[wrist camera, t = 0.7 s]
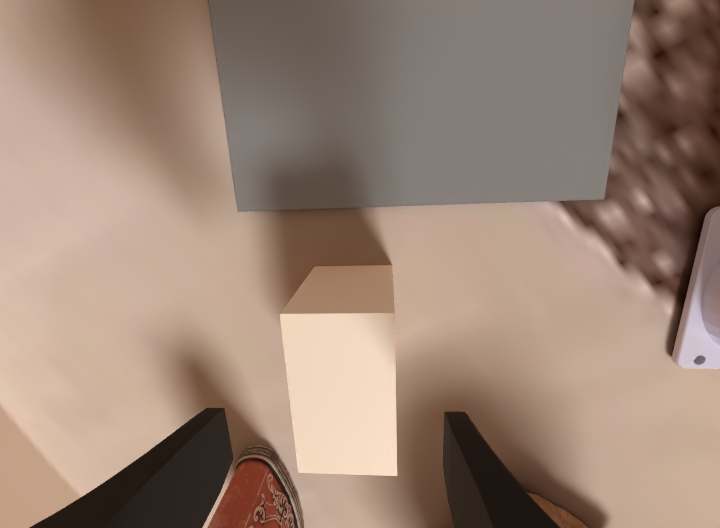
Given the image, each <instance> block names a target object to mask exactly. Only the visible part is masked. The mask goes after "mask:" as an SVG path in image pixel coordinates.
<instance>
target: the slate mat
mask: <svg viewBox="0 0 720 528" xmlns="http://www.w3.org/2000/svg"><path fill="white" fill-rule="evenodd" d="M208 2H209V9H210V16H211V23H212V30H213V37H214V45H215V52H216V59H217V66H218V73H219V80H220V87H221V95H222V102H223V109H224V116H225V123H226V130H227V137H228V145H229V152H230V159H231V166H232V173H233V180H234V187H235V194H236V202H237V209H238V212H243V211H272V210H302V209H331V208H360V207H389V206H419V205H448V204H477V203H507V202H536V201H565V200H594V199H604V196H605V190H606V183H607V177H608V170H609V164H610V157H611V151H612V144H613V137H614V131H615V124H616V118H617V111H618V105H619V98H620V91H621V85H622V78H623V72H624V65H625V59H626V52H627V46H628V39H629V32H630V26H631V19H632V13H633V6H634V0H208Z"/></svg>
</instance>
